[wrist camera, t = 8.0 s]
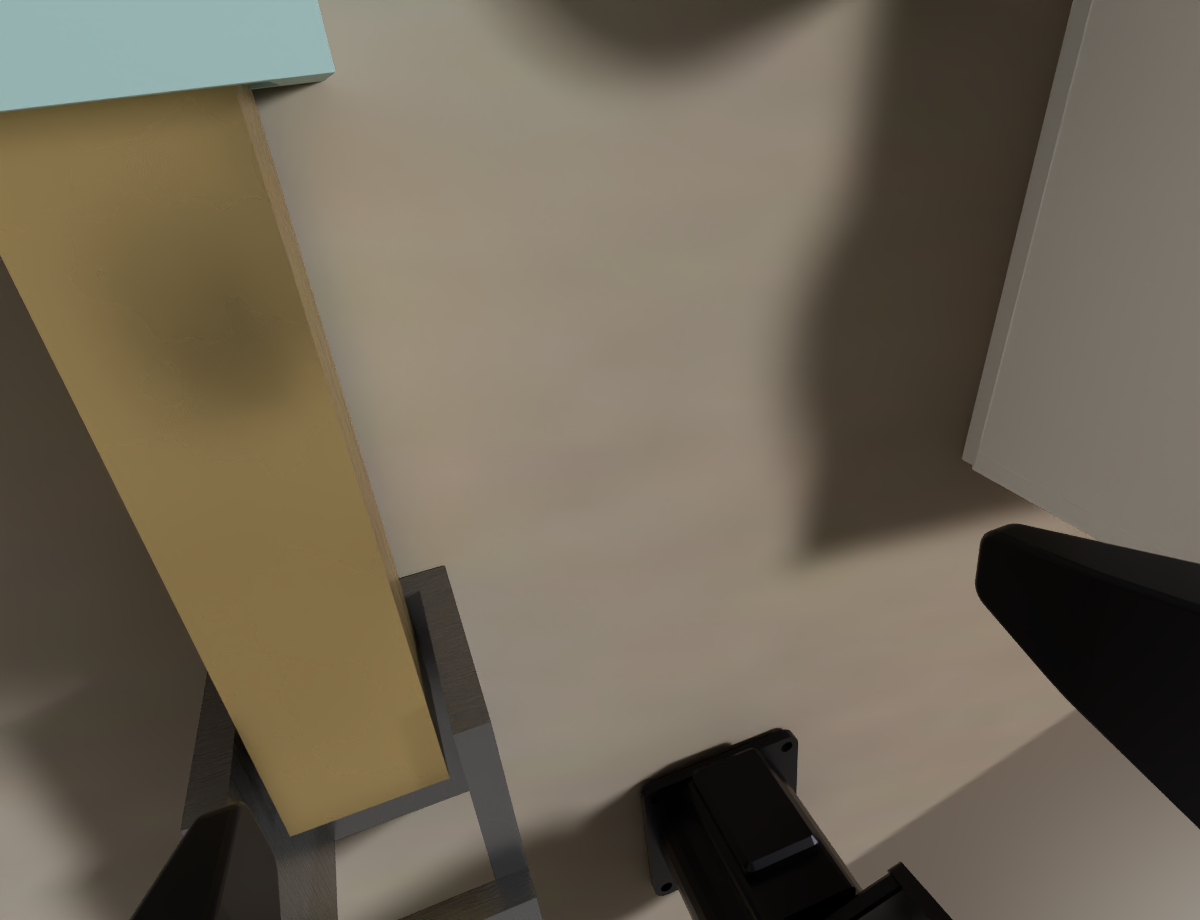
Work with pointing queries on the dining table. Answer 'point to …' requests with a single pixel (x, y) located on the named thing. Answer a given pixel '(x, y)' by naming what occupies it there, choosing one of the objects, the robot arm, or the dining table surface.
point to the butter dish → (1106, 290)
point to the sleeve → (307, 860)
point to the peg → (224, 429)
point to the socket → (154, 48)
